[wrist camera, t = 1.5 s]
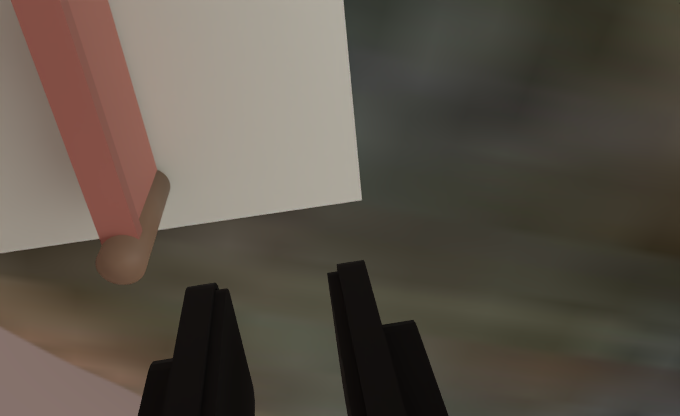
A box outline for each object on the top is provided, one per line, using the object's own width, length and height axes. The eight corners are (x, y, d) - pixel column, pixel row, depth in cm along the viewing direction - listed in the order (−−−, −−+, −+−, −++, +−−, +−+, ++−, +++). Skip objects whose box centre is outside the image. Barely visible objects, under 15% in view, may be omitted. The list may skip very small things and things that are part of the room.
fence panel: (61, -32, 22) (-9, -3, 16) (107, -37, 22) (54, -11, 17) (136, 204, 27) (103, 287, 22) (174, 198, 28) (151, 280, 22)
